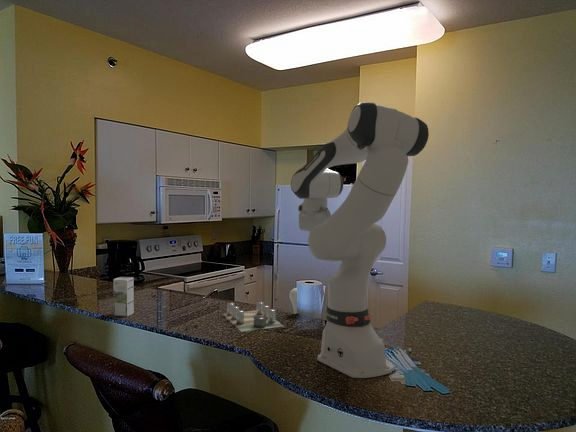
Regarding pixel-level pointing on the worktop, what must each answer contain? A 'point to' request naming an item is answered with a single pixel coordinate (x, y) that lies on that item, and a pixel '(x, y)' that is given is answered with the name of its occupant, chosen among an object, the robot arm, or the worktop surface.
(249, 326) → the board
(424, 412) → the worktop surface
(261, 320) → the dark metal plug
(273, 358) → the worktop surface
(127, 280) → the syrup box
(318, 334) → the worktop surface
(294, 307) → the lightbulb
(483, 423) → the worktop surface
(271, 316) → the spacers
